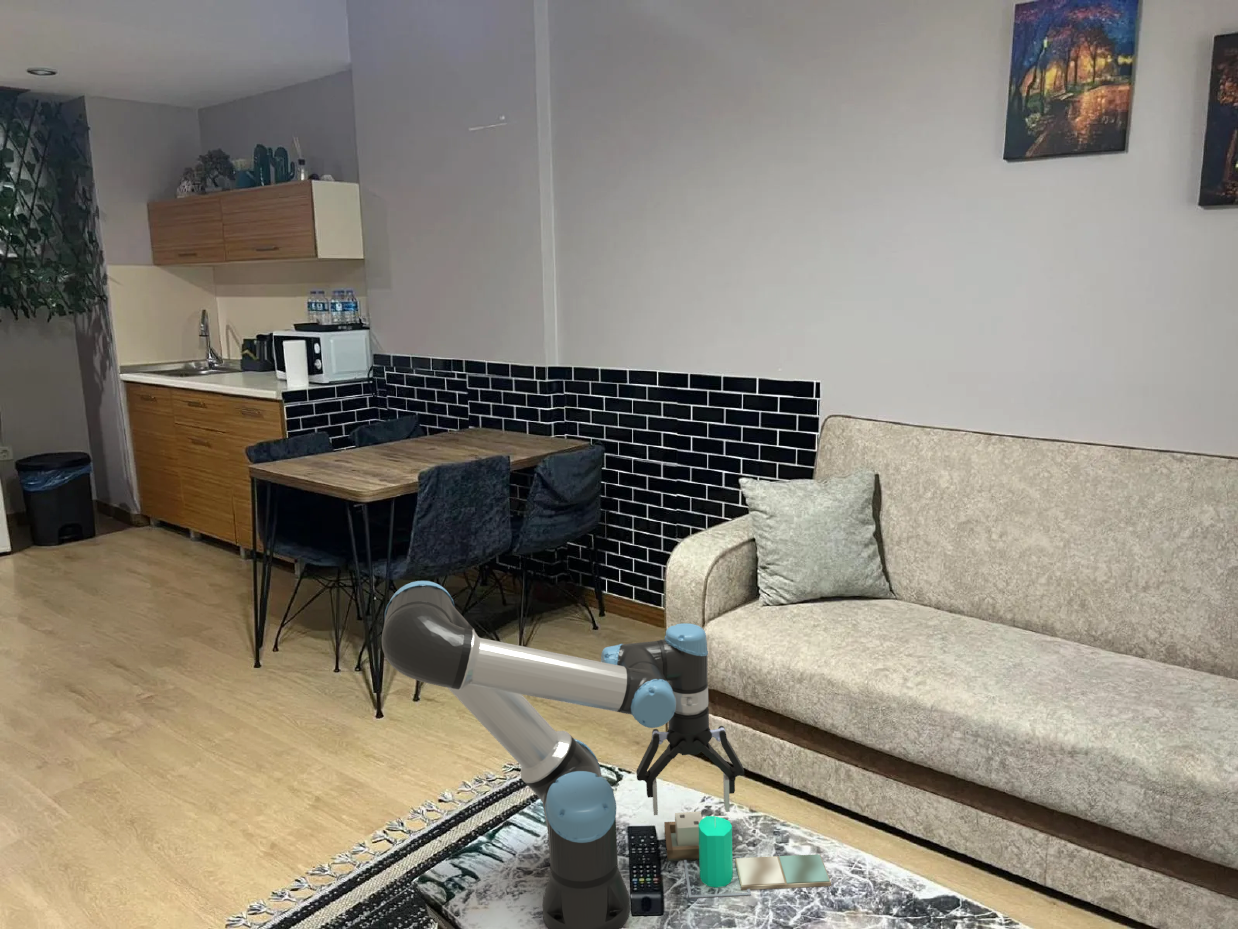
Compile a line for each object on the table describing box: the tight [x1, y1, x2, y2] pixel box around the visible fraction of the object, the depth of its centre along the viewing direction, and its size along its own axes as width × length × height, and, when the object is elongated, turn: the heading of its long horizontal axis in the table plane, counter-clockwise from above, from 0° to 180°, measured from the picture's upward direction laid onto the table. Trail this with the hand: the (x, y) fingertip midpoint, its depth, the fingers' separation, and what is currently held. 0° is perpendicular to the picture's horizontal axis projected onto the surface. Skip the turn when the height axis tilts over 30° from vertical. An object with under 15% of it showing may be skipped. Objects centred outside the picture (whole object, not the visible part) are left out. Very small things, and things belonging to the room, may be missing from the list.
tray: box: [663, 821, 699, 862], centre depth 176 cm, size 10×9×2 cm
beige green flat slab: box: [734, 853, 832, 891], centre depth 167 cm, size 16×8×1 cm, turn 91°
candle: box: [698, 815, 734, 888], centre depth 166 cm, size 6×6×12 cm
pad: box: [683, 855, 752, 899], centre depth 167 cm, size 11×11×1 cm
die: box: [674, 811, 703, 846], centre depth 176 cm, size 5×5×5 cm
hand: (691, 809), depth 175 cm, fingers open, 13 cm apart
